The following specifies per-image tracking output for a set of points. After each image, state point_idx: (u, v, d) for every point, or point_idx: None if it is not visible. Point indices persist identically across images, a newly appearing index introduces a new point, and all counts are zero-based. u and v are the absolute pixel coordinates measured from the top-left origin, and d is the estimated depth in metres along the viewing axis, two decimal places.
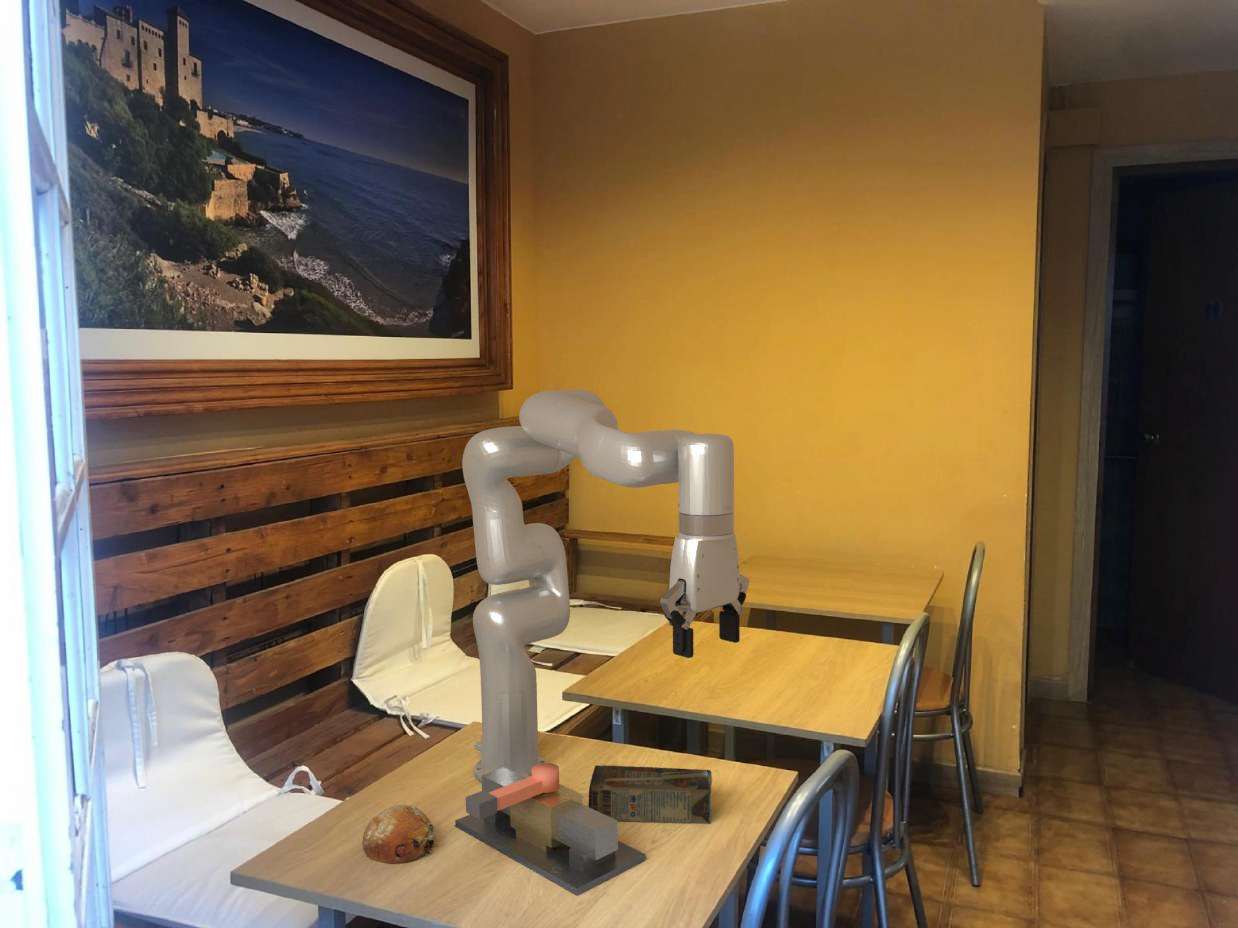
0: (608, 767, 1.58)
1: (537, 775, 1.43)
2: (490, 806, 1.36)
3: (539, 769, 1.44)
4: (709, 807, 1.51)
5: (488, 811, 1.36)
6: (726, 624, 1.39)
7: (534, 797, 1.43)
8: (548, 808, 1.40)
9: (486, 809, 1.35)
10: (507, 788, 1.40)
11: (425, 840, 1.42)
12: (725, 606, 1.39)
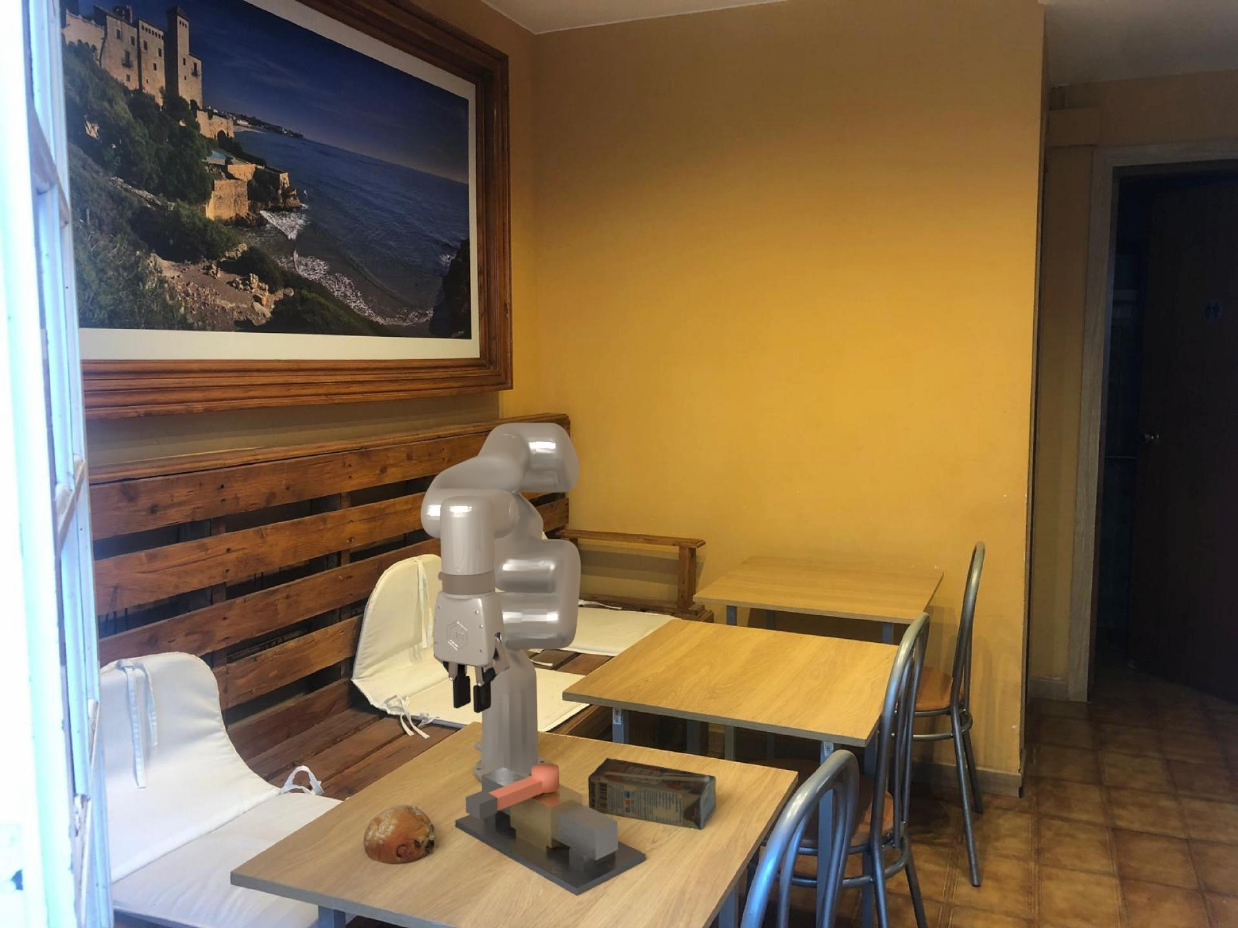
0: (616, 761, 1.60)
1: (537, 775, 1.43)
2: (490, 806, 1.36)
3: (539, 769, 1.44)
4: (700, 813, 1.49)
5: (488, 811, 1.36)
6: (463, 690, 1.43)
7: (534, 797, 1.43)
8: (548, 808, 1.40)
9: (486, 809, 1.35)
10: (507, 788, 1.40)
11: (426, 840, 1.42)
12: (456, 672, 1.43)
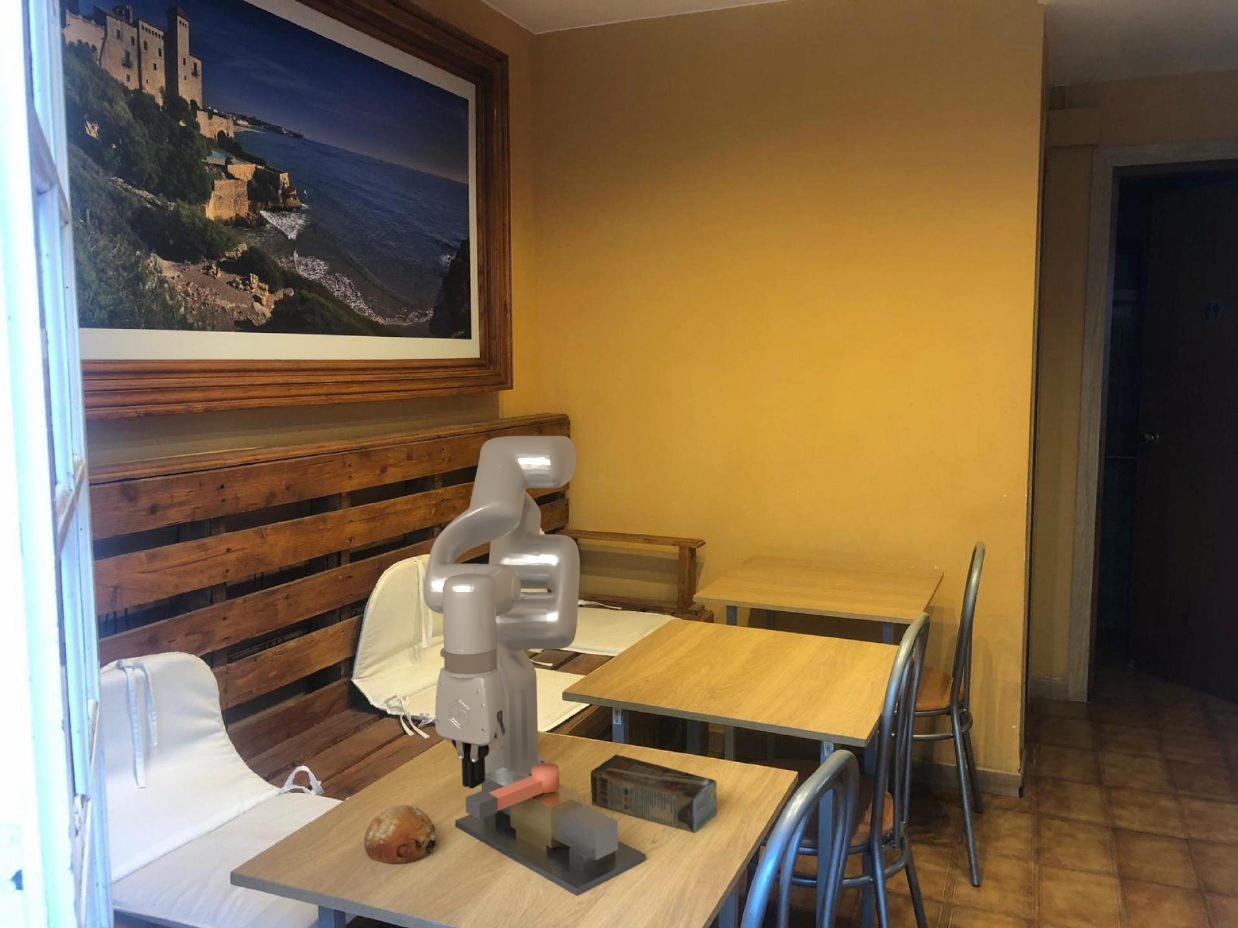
0: (623, 758, 1.61)
1: (537, 775, 1.43)
2: (490, 806, 1.36)
3: (539, 769, 1.44)
4: (693, 816, 1.48)
5: (488, 811, 1.36)
6: None
7: (534, 797, 1.43)
8: (548, 808, 1.40)
9: (486, 809, 1.35)
10: (507, 788, 1.40)
11: (427, 840, 1.42)
12: (464, 749, 1.43)
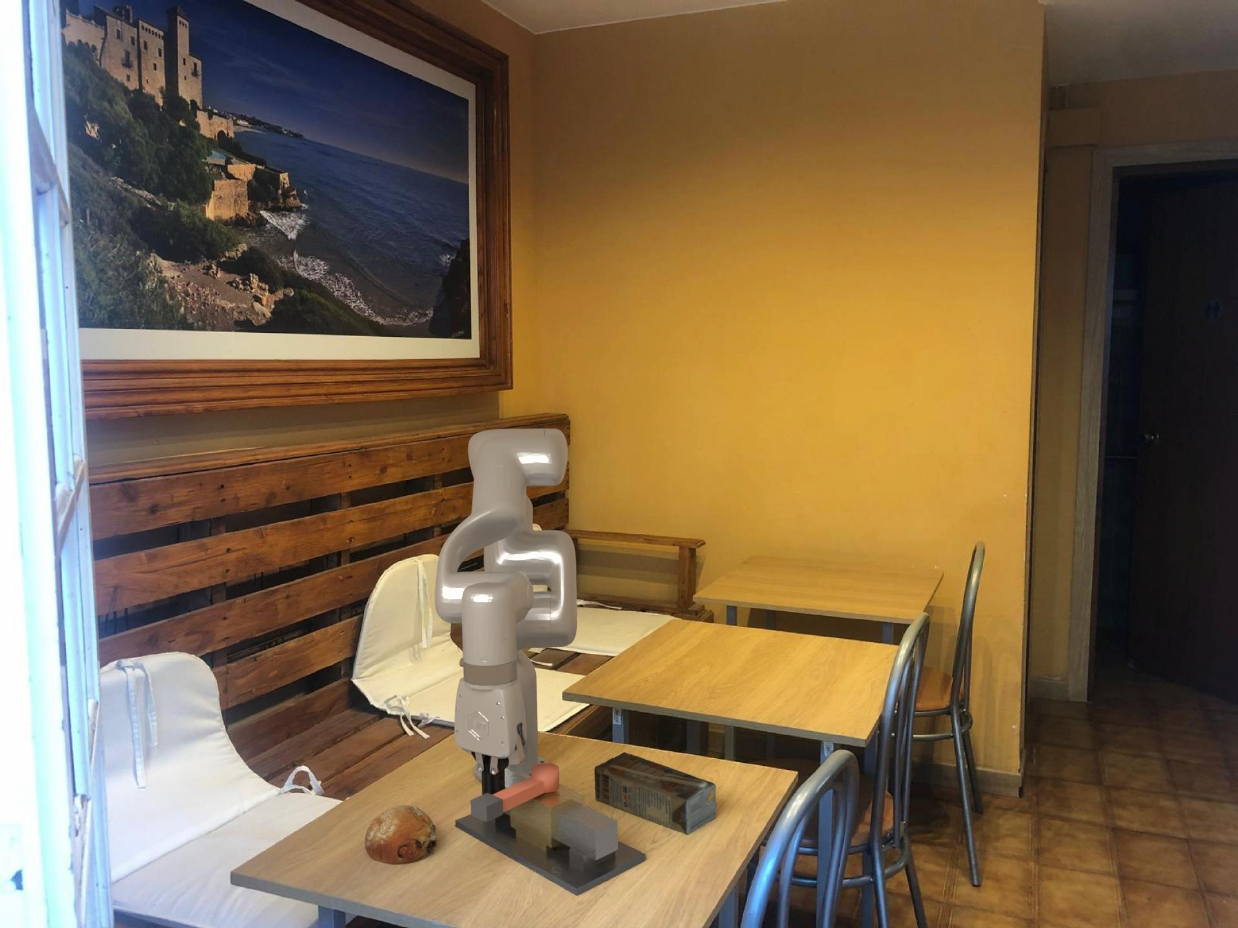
0: (629, 756, 1.62)
1: (538, 775, 1.43)
2: (496, 808, 1.35)
3: (539, 770, 1.44)
4: (685, 817, 1.47)
5: (494, 813, 1.35)
6: None
7: (534, 797, 1.43)
8: (548, 808, 1.40)
9: (493, 811, 1.35)
10: (510, 789, 1.40)
11: (427, 840, 1.42)
12: (484, 761, 1.40)
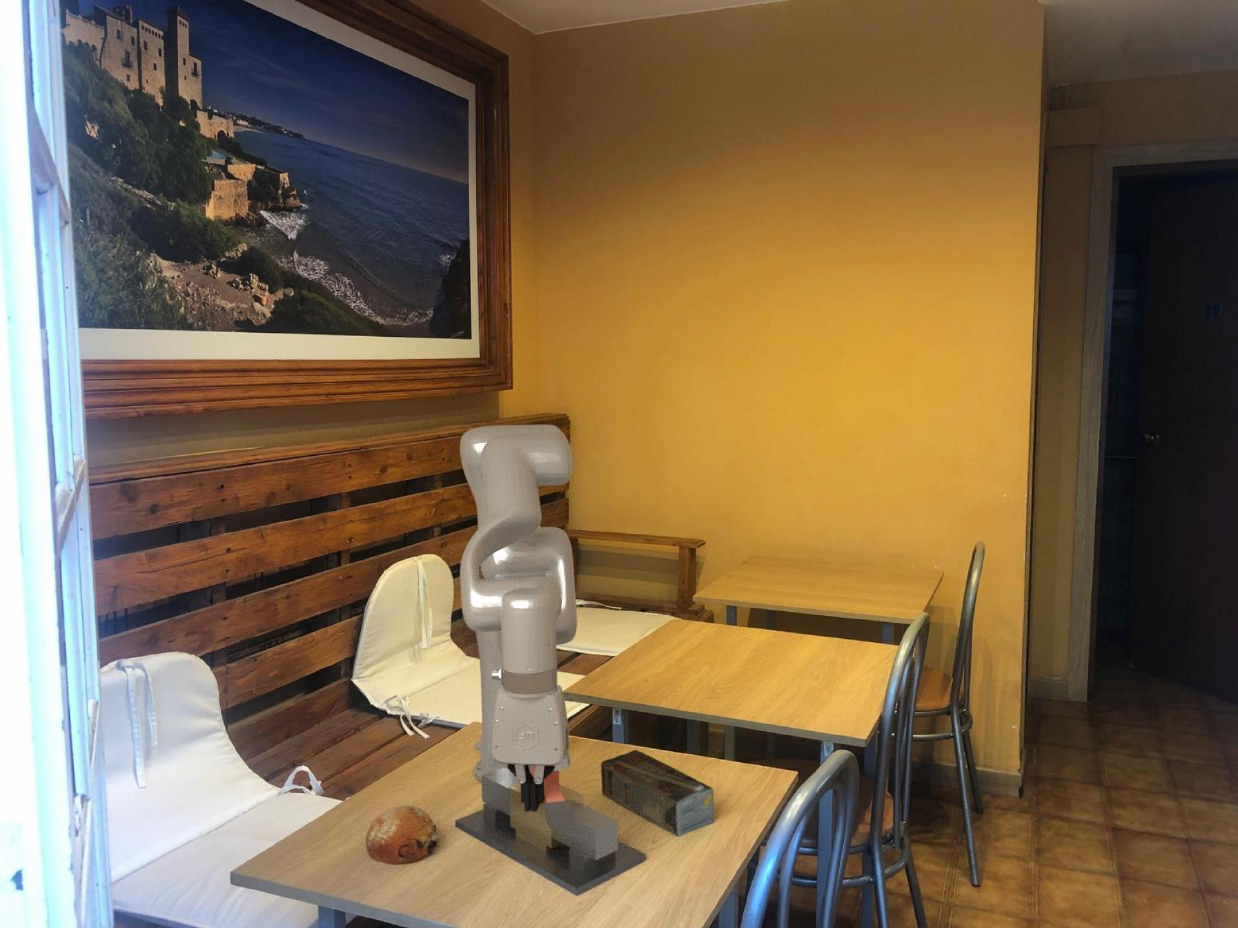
0: (638, 754, 1.63)
1: (550, 775, 1.43)
2: None
3: None
4: (676, 819, 1.47)
5: None
6: None
7: None
8: None
9: None
10: (549, 794, 1.38)
11: (428, 841, 1.42)
12: None
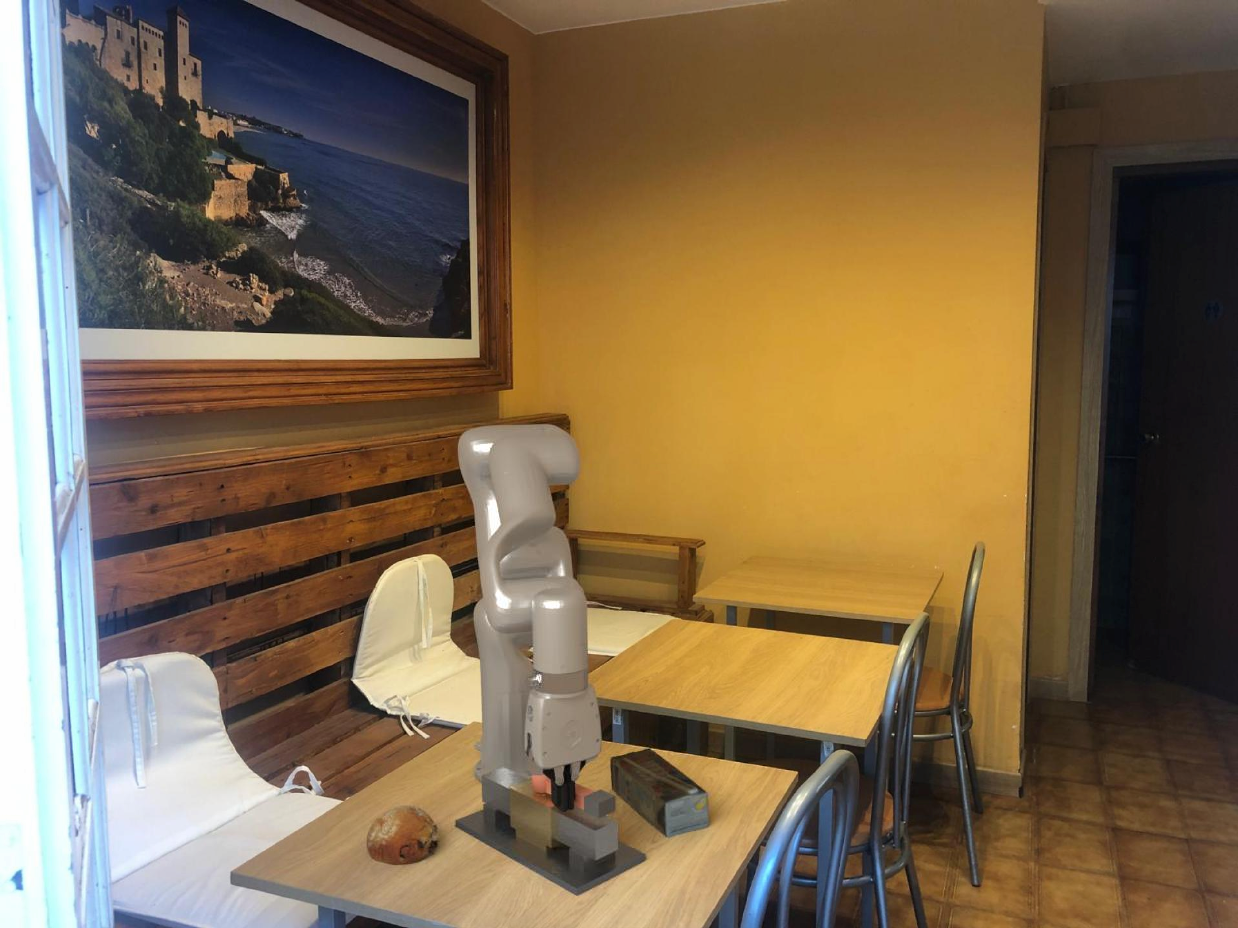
0: (649, 753, 1.63)
1: None
2: None
3: None
4: (664, 820, 1.47)
5: None
6: None
7: (534, 797, 1.43)
8: (548, 808, 1.40)
9: None
10: None
11: (429, 841, 1.42)
12: None
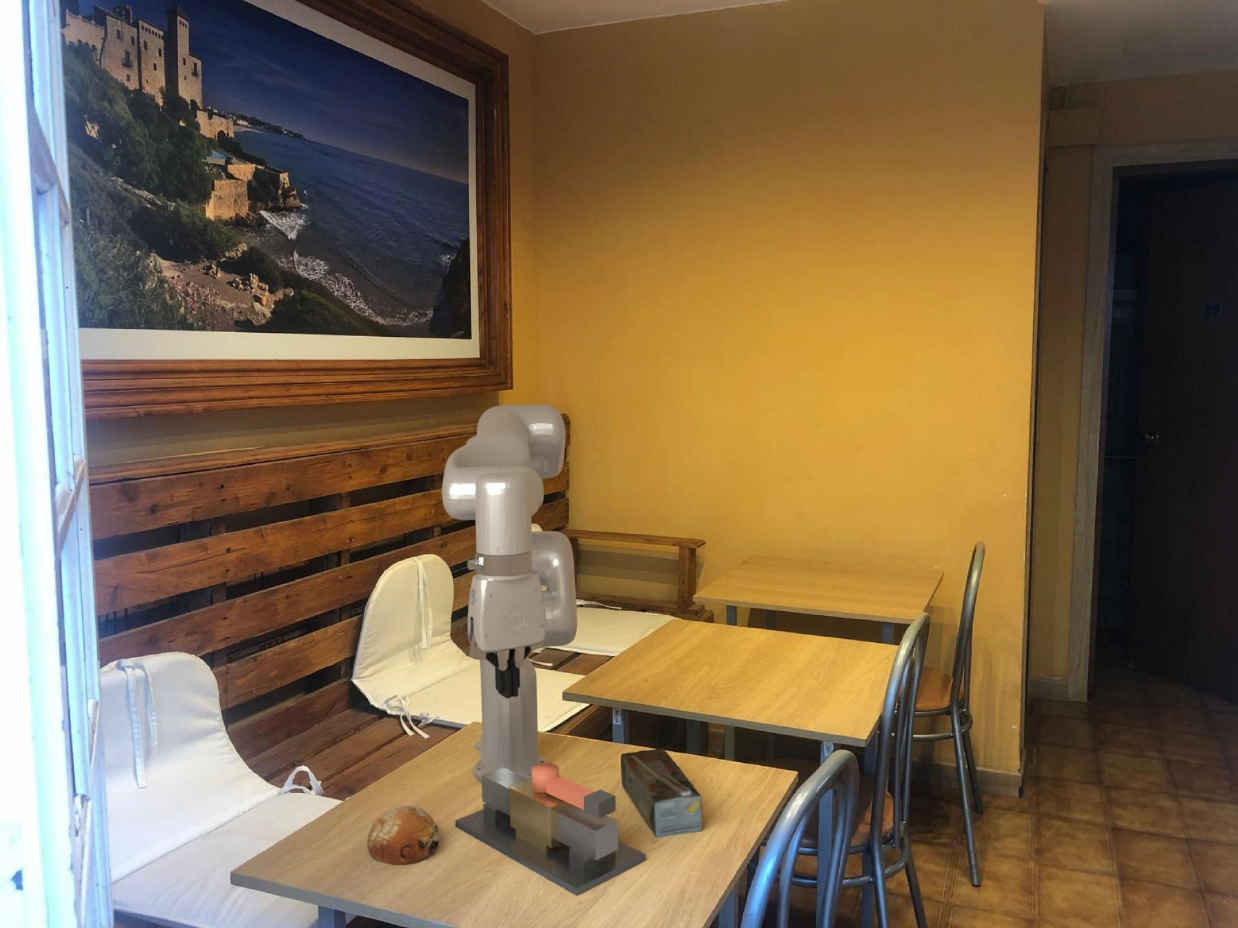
0: (659, 752, 1.63)
1: (556, 773, 1.44)
2: None
3: (548, 770, 1.44)
4: (654, 819, 1.47)
5: None
6: None
7: (534, 797, 1.43)
8: (548, 808, 1.40)
9: None
10: (573, 789, 1.40)
11: (430, 841, 1.42)
12: None
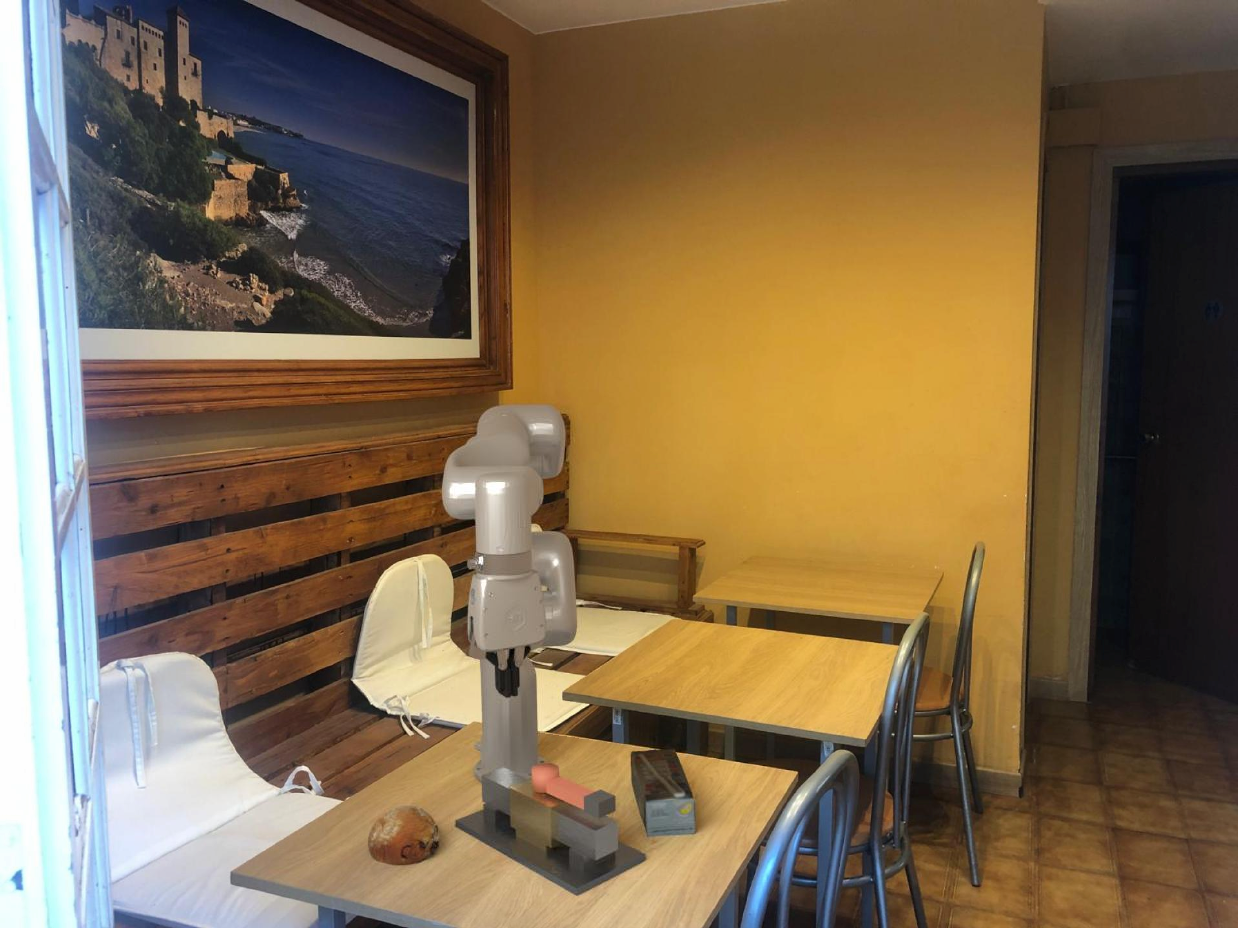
0: (668, 752, 1.63)
1: (556, 773, 1.44)
2: None
3: (548, 770, 1.44)
4: (645, 818, 1.47)
5: None
6: None
7: (534, 797, 1.43)
8: (548, 808, 1.40)
9: None
10: (573, 789, 1.40)
11: (431, 841, 1.42)
12: None
